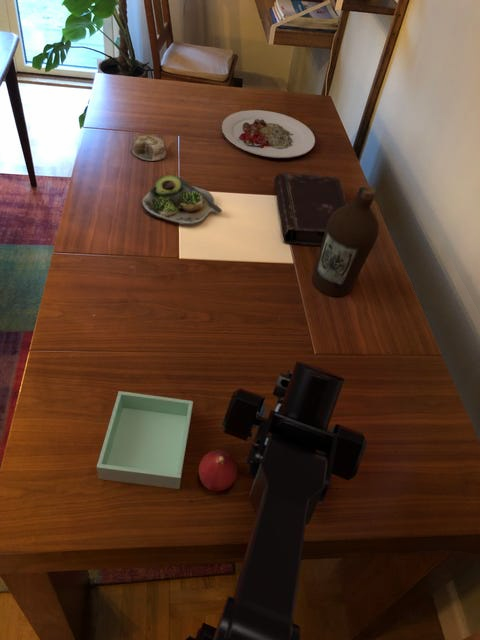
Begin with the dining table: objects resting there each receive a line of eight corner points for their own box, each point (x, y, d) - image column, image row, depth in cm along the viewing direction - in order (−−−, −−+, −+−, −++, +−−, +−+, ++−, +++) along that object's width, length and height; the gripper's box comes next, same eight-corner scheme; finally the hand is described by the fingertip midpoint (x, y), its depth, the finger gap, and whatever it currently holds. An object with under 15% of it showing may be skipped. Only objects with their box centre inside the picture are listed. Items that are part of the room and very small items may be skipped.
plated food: (323, 132, 160) (326, 123, 158) (298, 173, 141) (301, 162, 138) (241, 107, 165) (242, 97, 162) (206, 143, 145) (207, 132, 143)
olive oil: (323, 261, 114) (355, 167, 96) (362, 282, 111) (403, 190, 93) (300, 283, 108) (330, 187, 90) (341, 306, 105) (381, 212, 86)
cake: (138, 142, 141) (138, 124, 137) (170, 150, 140) (172, 133, 137) (126, 156, 133) (126, 137, 130) (160, 164, 133) (161, 146, 129)
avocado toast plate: (232, 201, 126) (234, 185, 123) (205, 237, 114) (207, 222, 111) (166, 178, 129) (166, 163, 126) (133, 212, 117) (133, 196, 114)
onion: (194, 466, 76) (197, 442, 70) (229, 460, 77) (235, 436, 71) (200, 502, 72) (205, 480, 66) (237, 495, 73) (244, 472, 68)
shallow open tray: (179, 491, 73) (180, 477, 69) (99, 481, 72) (96, 467, 68) (191, 416, 82) (193, 400, 78) (120, 406, 81) (118, 390, 77)
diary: (281, 243, 117) (285, 227, 113) (272, 187, 133) (276, 171, 130) (354, 250, 119) (360, 234, 115) (336, 193, 136) (342, 177, 132)
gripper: (390, 411, 55) (371, 391, 71) (240, 357, 58) (253, 349, 73) (358, 500, 56) (346, 461, 71) (211, 443, 58) (230, 417, 74)
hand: (294, 420), depth 72 cm, fingers open, 9 cm apart
